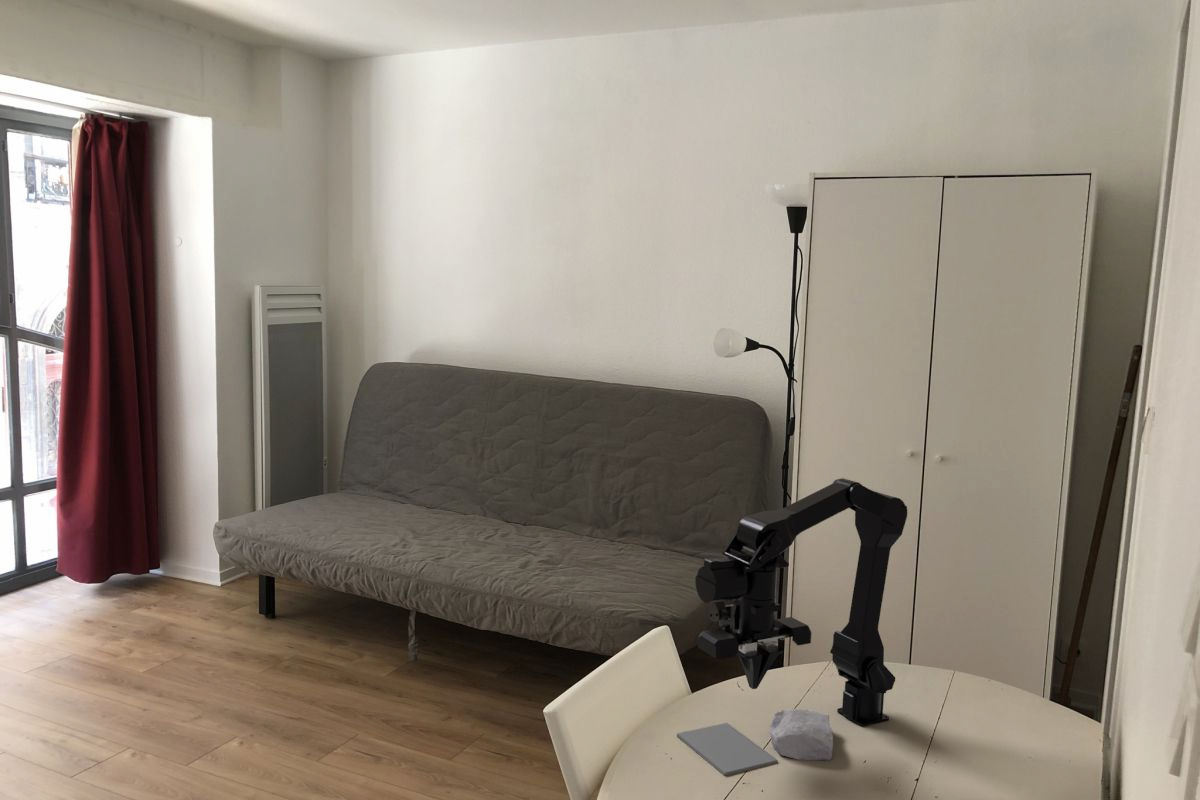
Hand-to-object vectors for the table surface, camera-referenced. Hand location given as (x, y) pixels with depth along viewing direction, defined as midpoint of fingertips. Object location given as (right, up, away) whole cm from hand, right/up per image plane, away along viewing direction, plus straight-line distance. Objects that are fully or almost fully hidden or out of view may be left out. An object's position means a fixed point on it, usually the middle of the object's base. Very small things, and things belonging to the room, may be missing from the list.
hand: (753, 688), depth 154 cm
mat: (-5, -10, -1) cm, 11 cm away
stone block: (+3, -9, +2) cm, 10 cm away
